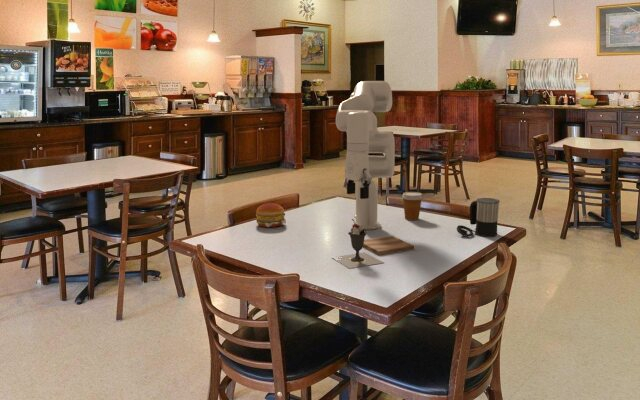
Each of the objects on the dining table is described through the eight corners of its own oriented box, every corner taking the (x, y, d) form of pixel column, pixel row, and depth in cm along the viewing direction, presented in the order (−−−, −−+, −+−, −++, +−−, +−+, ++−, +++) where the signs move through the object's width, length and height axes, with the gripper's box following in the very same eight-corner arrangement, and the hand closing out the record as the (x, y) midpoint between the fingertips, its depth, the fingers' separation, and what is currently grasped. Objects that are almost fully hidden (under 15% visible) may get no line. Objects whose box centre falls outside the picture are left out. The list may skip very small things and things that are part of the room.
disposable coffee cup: (401, 220, 265) (401, 195, 263) (401, 216, 275) (402, 191, 272) (422, 221, 264) (422, 195, 261) (422, 216, 273) (422, 192, 271)
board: (357, 244, 228) (357, 240, 228) (392, 239, 235) (392, 235, 235) (378, 255, 214) (378, 251, 214) (414, 249, 221) (414, 245, 221)
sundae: (346, 257, 211) (346, 217, 208) (365, 256, 212) (365, 217, 209) (349, 262, 205) (349, 222, 202) (368, 262, 205) (368, 221, 202)
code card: (331, 257, 212) (331, 257, 212) (364, 252, 217) (364, 252, 217) (349, 268, 199) (349, 268, 199) (383, 263, 205) (384, 262, 205)
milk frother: (501, 234, 242) (503, 199, 238) (483, 242, 230) (485, 205, 227) (471, 228, 251) (472, 195, 248) (452, 235, 240) (453, 200, 237)
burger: (260, 221, 268) (259, 200, 266) (288, 222, 266) (288, 200, 264) (252, 228, 255) (252, 206, 253) (282, 229, 253) (282, 207, 251)
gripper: (337, 146, 206) (337, 193, 209) (360, 150, 191) (360, 201, 194) (355, 144, 209) (355, 191, 213) (379, 149, 194) (379, 199, 197)
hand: (357, 196), depth 203 cm, fingers open, 9 cm apart
